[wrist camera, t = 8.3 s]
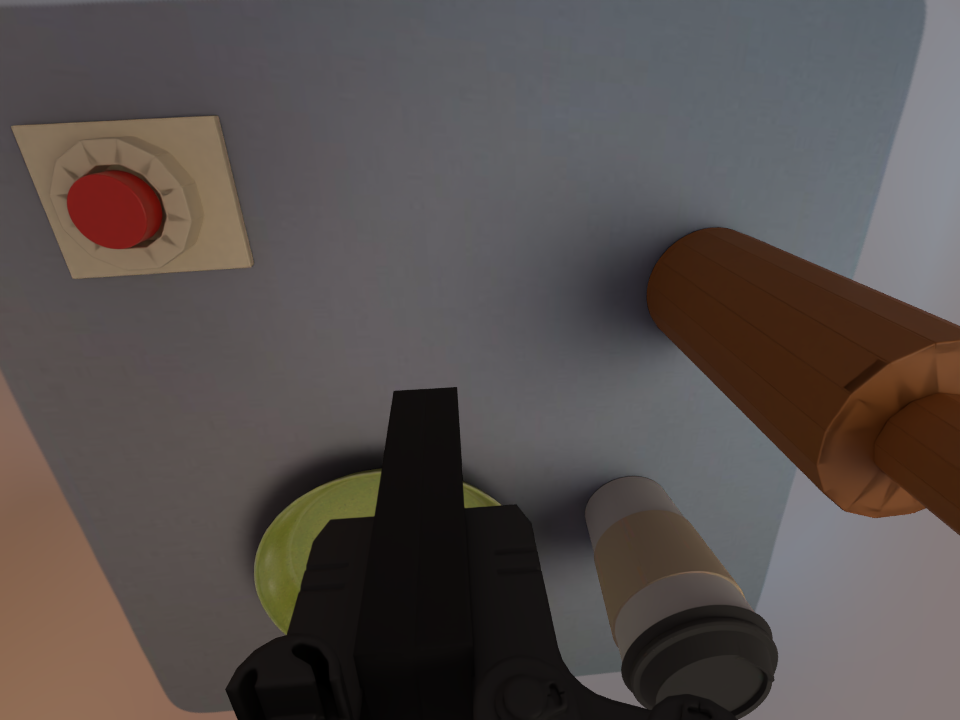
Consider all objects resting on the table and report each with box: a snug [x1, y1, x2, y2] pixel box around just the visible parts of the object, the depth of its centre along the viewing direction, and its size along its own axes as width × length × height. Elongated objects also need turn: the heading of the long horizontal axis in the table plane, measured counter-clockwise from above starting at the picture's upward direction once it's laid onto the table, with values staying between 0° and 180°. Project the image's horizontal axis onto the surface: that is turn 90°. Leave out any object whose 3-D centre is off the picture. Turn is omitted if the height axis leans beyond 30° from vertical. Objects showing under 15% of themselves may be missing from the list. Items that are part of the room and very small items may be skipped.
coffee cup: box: [585, 476, 778, 719], centre depth 35 cm, size 9×9×15 cm
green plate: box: [254, 469, 501, 635], centre depth 41 cm, size 21×21×3 cm
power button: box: [67, 170, 162, 249], centre depth 26 cm, size 4×4×2 cm
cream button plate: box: [11, 115, 254, 279], centre depth 28 cm, size 10×8×2 cm
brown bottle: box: [647, 227, 960, 535], centre depth 24 cm, size 8×8×23 cm
